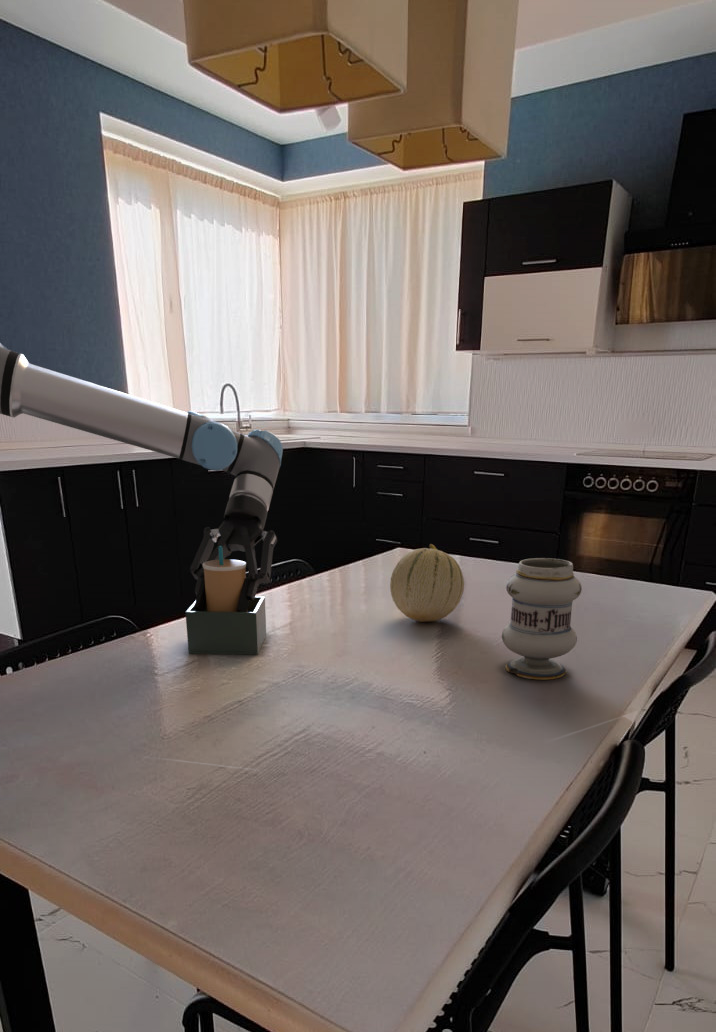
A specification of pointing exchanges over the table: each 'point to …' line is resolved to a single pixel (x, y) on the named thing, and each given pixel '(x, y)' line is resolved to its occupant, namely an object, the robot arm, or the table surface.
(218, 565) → the drink cup
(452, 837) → the table surface
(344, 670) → the table surface
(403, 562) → the cantaloupe
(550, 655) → the apothecary jar
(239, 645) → the bin
